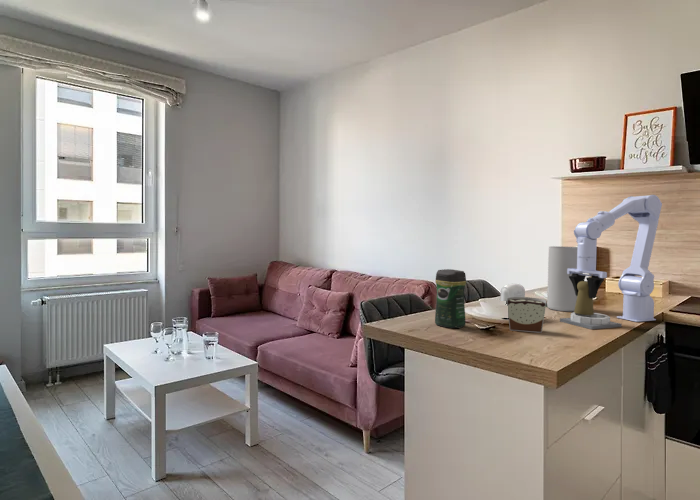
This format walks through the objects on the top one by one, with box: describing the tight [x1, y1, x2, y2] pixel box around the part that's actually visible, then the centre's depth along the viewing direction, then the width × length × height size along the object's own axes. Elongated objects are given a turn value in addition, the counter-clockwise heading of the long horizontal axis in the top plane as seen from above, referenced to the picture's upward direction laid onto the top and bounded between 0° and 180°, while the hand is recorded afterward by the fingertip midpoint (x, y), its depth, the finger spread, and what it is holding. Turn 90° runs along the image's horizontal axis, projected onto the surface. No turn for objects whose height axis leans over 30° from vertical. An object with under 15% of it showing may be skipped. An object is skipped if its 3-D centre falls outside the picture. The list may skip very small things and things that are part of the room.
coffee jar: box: [434, 268, 467, 329], centre depth 145 cm, size 10×8×19 cm
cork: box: [574, 280, 595, 315], centre depth 151 cm, size 6×6×11 cm
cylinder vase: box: [546, 246, 584, 313], centre depth 177 cm, size 12×12×25 cm
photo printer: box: [499, 283, 526, 302], centre depth 159 cm, size 10×4×12 cm, turn 123°
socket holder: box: [559, 312, 623, 330], centre depth 149 cm, size 13×13×3 cm
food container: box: [505, 296, 549, 334], centre depth 140 cm, size 12×6×10 cm, turn 71°
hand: (585, 297), depth 151 cm, fingers closed on cork, 5 cm apart
